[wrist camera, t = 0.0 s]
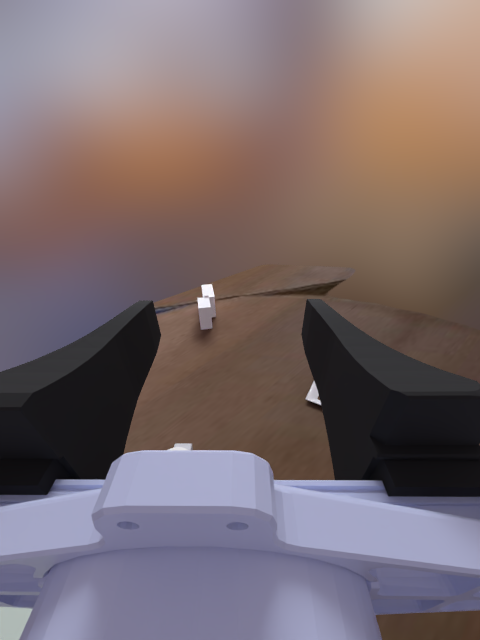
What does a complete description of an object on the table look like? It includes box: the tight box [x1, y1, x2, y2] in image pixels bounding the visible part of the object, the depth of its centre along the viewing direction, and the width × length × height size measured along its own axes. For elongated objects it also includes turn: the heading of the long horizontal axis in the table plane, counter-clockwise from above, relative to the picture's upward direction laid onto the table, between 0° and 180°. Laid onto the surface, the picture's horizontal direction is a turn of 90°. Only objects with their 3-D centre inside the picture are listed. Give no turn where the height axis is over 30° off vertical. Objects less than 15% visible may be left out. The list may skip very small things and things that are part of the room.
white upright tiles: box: [198, 284, 216, 330], centre depth 56 cm, size 15×11×6 cm
